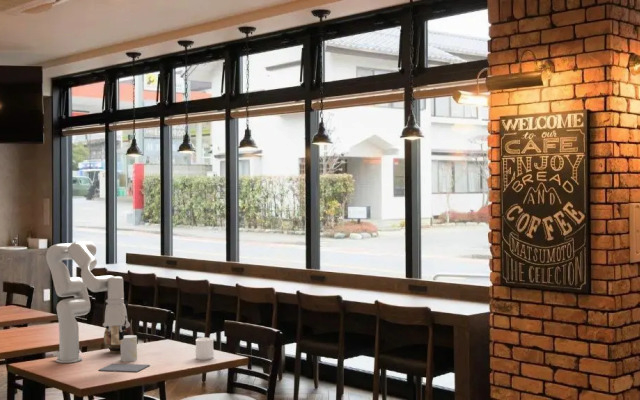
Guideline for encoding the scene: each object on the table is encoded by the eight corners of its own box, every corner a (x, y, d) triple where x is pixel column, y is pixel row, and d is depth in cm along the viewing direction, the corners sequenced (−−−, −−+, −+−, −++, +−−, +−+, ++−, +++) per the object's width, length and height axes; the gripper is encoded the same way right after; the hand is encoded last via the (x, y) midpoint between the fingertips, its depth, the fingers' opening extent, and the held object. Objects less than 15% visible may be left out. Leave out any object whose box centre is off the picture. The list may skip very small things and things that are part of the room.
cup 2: (201, 360, 396) (201, 341, 396) (191, 358, 404) (190, 339, 404) (217, 358, 403) (217, 339, 403) (206, 355, 410) (206, 336, 410)
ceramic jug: (124, 347, 435) (123, 293, 435) (138, 351, 423) (137, 295, 423) (96, 352, 423) (95, 296, 423) (109, 356, 412) (108, 299, 412)
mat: (98, 370, 377) (98, 369, 377) (112, 364, 390) (112, 363, 390) (137, 372, 372) (137, 371, 372) (149, 365, 386) (149, 364, 386)
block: (111, 344, 380) (110, 323, 380) (115, 343, 384) (114, 322, 384) (118, 344, 380) (118, 323, 380) (122, 343, 384) (122, 322, 384)
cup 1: (132, 361, 397) (132, 338, 397) (118, 361, 398) (117, 337, 398) (139, 358, 405) (139, 335, 404) (125, 358, 406) (124, 335, 406)
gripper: (96, 302, 380) (97, 340, 380) (128, 303, 377) (129, 341, 377) (103, 300, 387) (104, 338, 387) (135, 301, 384) (136, 338, 384)
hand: (116, 339), depth 382 cm, fingers closed on block, 4 cm apart
